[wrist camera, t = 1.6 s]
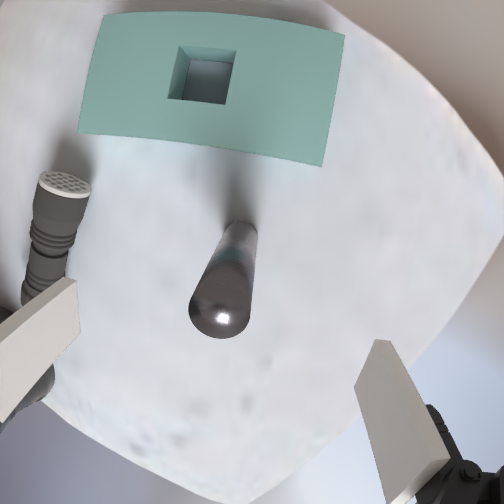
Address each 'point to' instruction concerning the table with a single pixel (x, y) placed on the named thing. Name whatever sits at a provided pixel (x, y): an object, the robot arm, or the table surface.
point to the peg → (226, 284)
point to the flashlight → (53, 229)
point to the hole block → (240, 88)
